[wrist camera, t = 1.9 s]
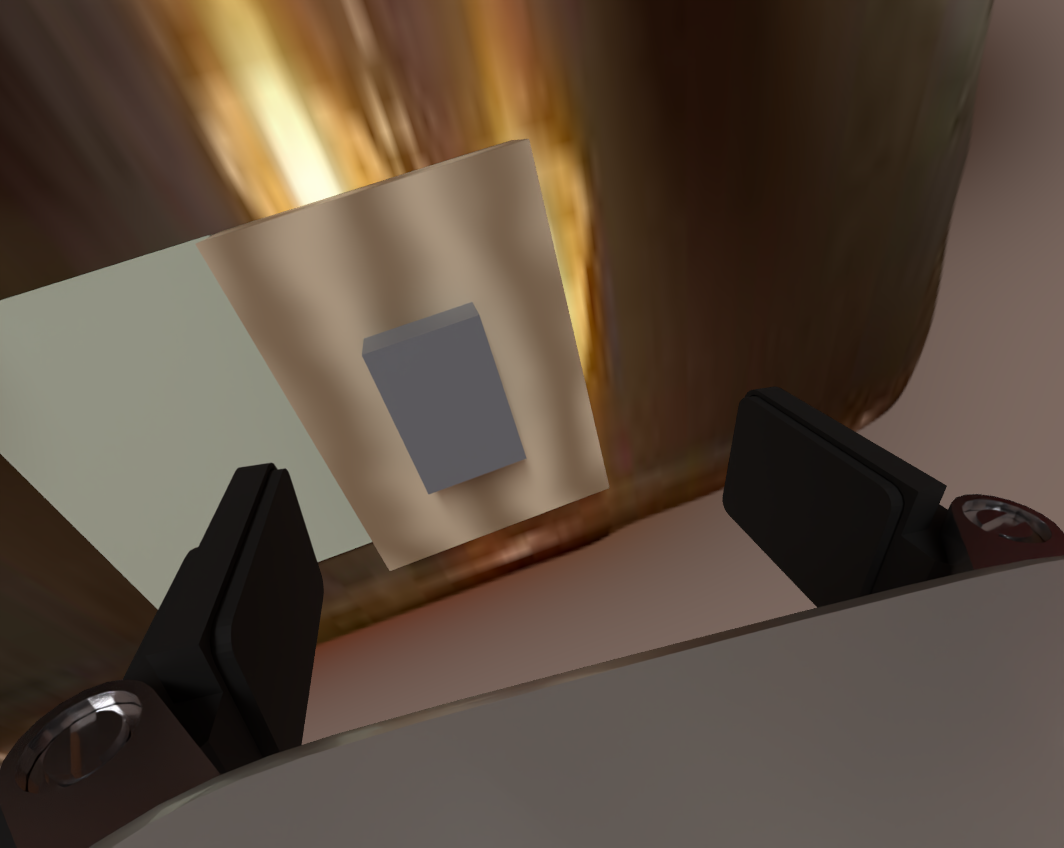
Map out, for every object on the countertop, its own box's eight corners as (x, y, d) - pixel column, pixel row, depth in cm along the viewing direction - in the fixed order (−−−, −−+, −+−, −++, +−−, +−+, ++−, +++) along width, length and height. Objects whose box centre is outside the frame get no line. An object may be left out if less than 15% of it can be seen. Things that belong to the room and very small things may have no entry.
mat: (210, 234, 26) (209, 235, 26) (383, 535, 37) (383, 537, 37) (-112, 335, 25) (-117, 337, 25) (168, 615, 36) (166, 618, 36)
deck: (511, 140, 27) (529, 139, 24) (589, 458, 39) (609, 488, 35) (220, 231, 26) (195, 243, 23) (389, 532, 37) (389, 571, 34)
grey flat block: (472, 301, 27) (479, 315, 25) (517, 437, 32) (526, 458, 29) (363, 338, 26) (361, 355, 24) (425, 470, 31) (428, 494, 29)
